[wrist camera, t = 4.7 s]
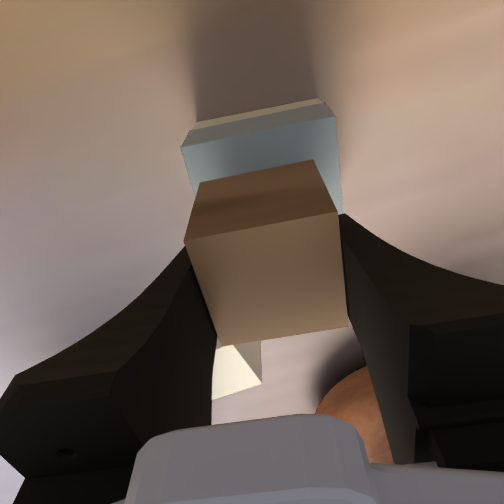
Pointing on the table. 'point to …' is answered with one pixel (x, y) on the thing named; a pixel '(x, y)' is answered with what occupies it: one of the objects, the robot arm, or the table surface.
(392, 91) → the table surface
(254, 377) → the cream cube
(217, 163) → the tower top
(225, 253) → the walnut cube
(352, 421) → the ceramic jug
